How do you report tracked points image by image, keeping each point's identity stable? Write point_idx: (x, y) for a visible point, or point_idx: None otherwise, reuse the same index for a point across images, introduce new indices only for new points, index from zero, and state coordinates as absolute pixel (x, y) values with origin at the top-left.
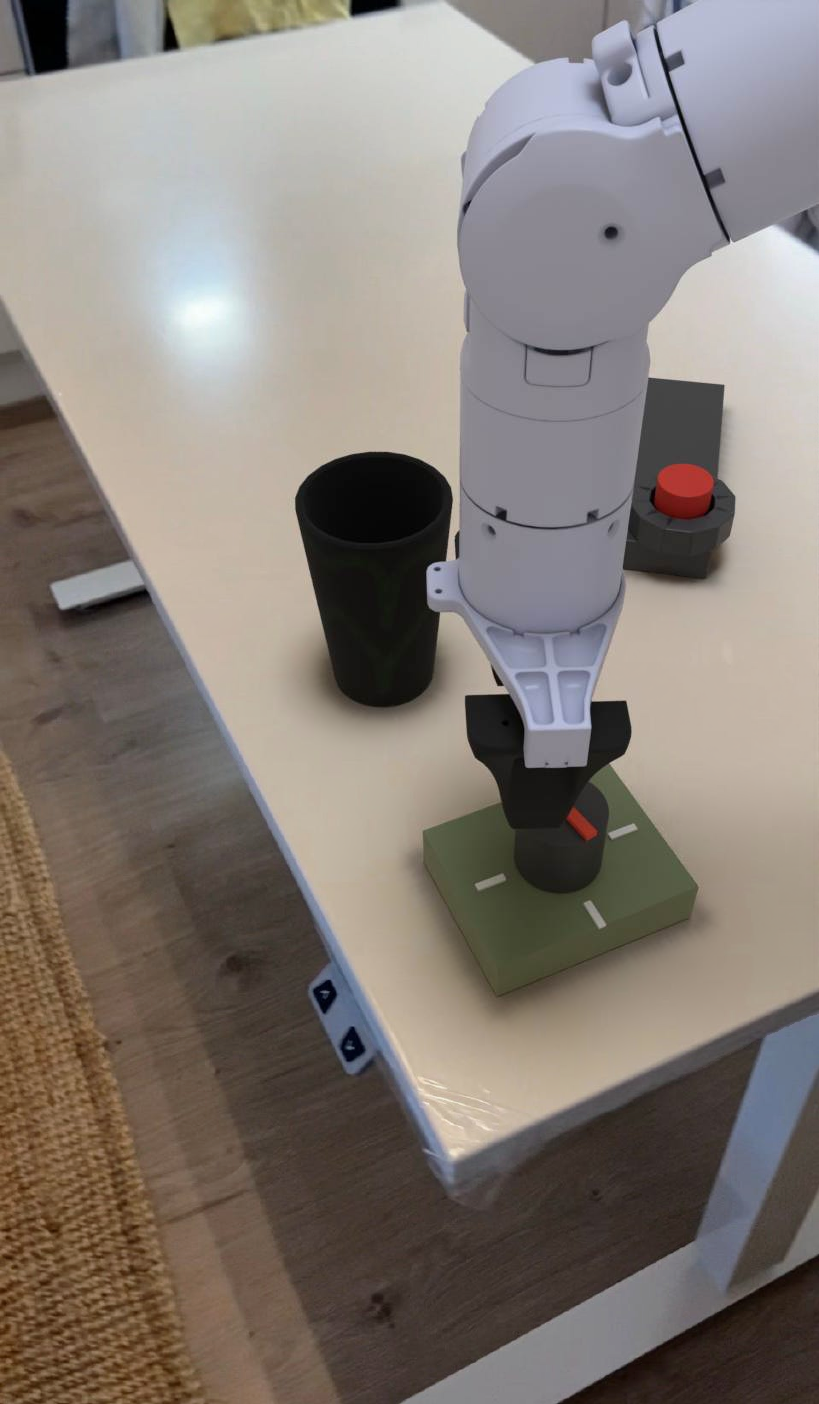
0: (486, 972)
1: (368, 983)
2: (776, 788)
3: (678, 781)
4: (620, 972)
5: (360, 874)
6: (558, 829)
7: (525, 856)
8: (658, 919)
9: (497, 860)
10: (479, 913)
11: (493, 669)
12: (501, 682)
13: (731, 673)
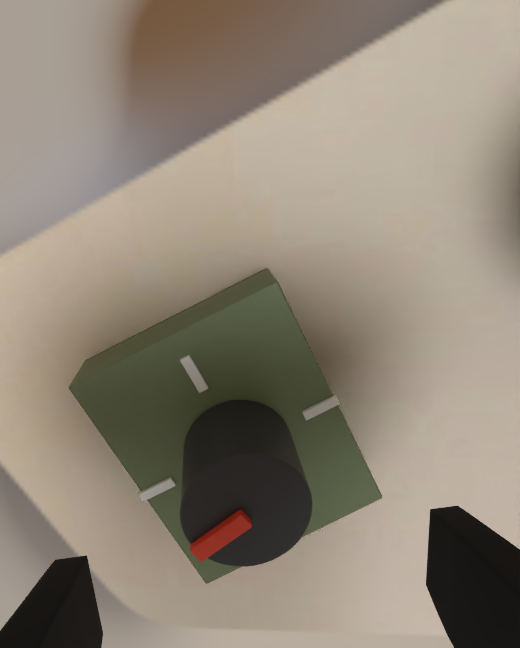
0: (105, 353)
1: (83, 210)
2: (363, 610)
3: (377, 530)
4: None
5: (246, 187)
6: (209, 508)
7: (202, 437)
8: None
9: (231, 379)
10: (147, 361)
11: (455, 537)
12: (434, 523)
13: None
